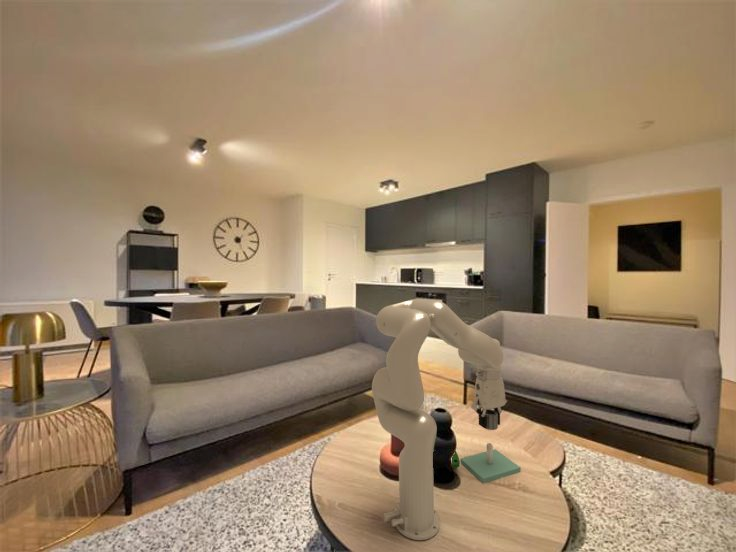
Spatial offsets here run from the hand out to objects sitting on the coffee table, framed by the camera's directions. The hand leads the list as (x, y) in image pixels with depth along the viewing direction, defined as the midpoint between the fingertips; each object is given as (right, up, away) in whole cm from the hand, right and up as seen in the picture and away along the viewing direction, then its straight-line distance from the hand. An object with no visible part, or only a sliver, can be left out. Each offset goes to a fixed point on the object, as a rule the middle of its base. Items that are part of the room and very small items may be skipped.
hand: (489, 424), depth 112 cm
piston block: (0, -15, 0) cm, 15 cm away
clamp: (-17, -16, -1) cm, 23 cm away
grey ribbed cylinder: (0, -1, 0) cm, 1 cm away
